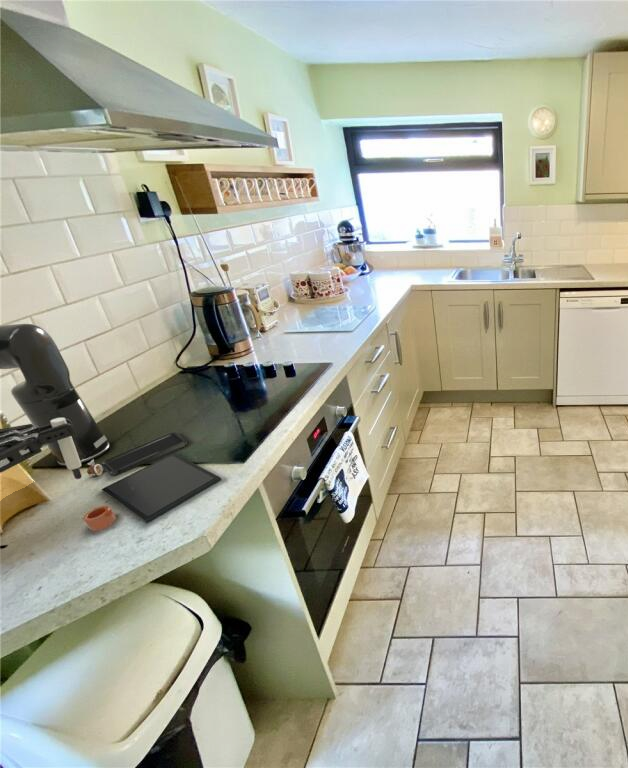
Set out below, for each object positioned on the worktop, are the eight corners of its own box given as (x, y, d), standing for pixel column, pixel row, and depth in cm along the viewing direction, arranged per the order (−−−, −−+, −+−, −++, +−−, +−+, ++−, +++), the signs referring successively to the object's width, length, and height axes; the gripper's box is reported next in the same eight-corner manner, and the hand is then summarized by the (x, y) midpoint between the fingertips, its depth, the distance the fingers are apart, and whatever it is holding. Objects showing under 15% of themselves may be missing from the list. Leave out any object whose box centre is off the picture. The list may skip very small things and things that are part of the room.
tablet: (103, 492, 89) (100, 488, 89) (175, 456, 100) (174, 452, 99) (147, 524, 80) (144, 520, 79) (222, 480, 91) (220, 477, 90)
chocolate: (96, 471, 96) (87, 457, 94) (107, 470, 96) (98, 456, 94) (87, 480, 93) (78, 466, 91) (99, 478, 94) (89, 464, 92)
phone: (100, 462, 97) (174, 431, 107) (102, 466, 97) (176, 434, 108) (110, 474, 93) (187, 440, 103) (113, 478, 93) (188, 444, 104)
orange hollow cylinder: (87, 527, 80) (79, 516, 79) (111, 514, 83) (104, 503, 81) (95, 535, 78) (87, 523, 77) (120, 521, 81) (112, 509, 80)
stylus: (70, 479, 76) (48, 420, 72) (83, 474, 77) (63, 416, 73) (74, 482, 75) (52, 422, 71) (87, 478, 77) (66, 419, 72)
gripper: (-110, 476, 57) (63, 421, 68) (-95, 439, 65) (57, 395, 76) (-72, 516, 60) (87, 458, 71) (-61, 476, 69) (79, 429, 80)
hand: (71, 425), depth 74 cm, fingers closed on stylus, 2 cm apart
